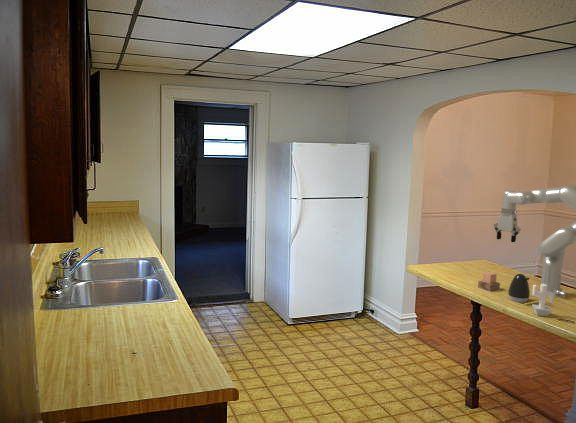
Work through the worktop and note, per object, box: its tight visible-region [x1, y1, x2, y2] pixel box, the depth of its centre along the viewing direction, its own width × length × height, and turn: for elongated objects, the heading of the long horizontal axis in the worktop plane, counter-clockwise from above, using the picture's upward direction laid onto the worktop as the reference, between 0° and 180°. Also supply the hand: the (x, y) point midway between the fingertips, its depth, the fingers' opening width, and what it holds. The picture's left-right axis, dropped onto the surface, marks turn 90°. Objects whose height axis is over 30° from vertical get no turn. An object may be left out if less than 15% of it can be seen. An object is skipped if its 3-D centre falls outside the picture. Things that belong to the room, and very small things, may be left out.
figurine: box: [531, 283, 555, 317], centre depth 242 cm, size 7×9×15 cm
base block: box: [477, 279, 501, 293], centre depth 281 cm, size 8×8×4 cm
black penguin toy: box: [507, 273, 531, 304], centre depth 261 cm, size 10×10×15 cm
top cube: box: [482, 271, 498, 284], centre depth 281 cm, size 5×5×5 cm
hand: (505, 240), depth 295 cm, fingers open, 9 cm apart
